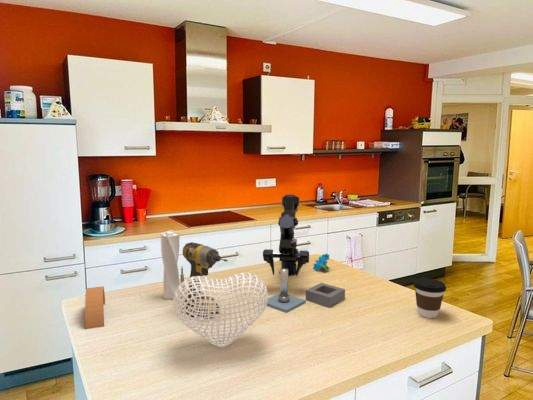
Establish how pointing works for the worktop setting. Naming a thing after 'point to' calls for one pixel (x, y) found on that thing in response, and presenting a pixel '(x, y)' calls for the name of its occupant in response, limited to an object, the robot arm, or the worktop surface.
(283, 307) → the mat
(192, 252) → the cordless drill
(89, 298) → the orange rectangular block
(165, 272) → the skyscraper
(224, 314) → the heart
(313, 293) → the socket block
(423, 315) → the coffee cup
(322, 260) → the blue flower bunch
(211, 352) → the worktop surface
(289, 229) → the robot arm
